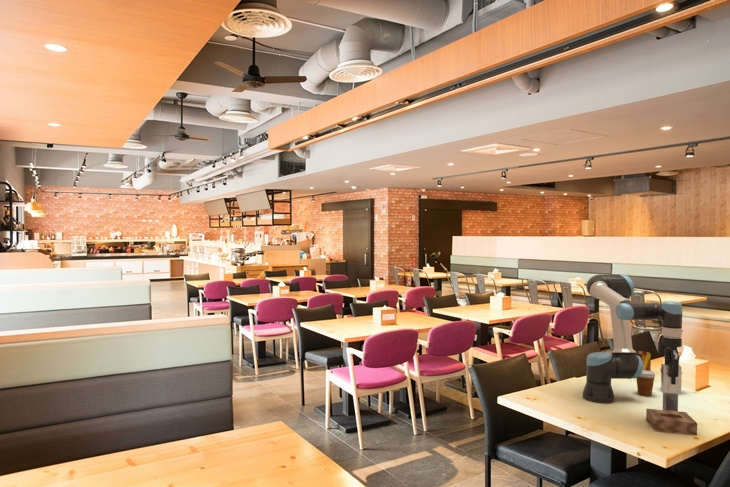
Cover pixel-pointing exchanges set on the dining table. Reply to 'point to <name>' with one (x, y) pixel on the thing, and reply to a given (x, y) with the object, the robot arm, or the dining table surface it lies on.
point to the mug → (645, 359)
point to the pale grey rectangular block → (665, 379)
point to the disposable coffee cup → (645, 383)
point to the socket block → (671, 421)
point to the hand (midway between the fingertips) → (671, 390)
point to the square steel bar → (670, 401)
